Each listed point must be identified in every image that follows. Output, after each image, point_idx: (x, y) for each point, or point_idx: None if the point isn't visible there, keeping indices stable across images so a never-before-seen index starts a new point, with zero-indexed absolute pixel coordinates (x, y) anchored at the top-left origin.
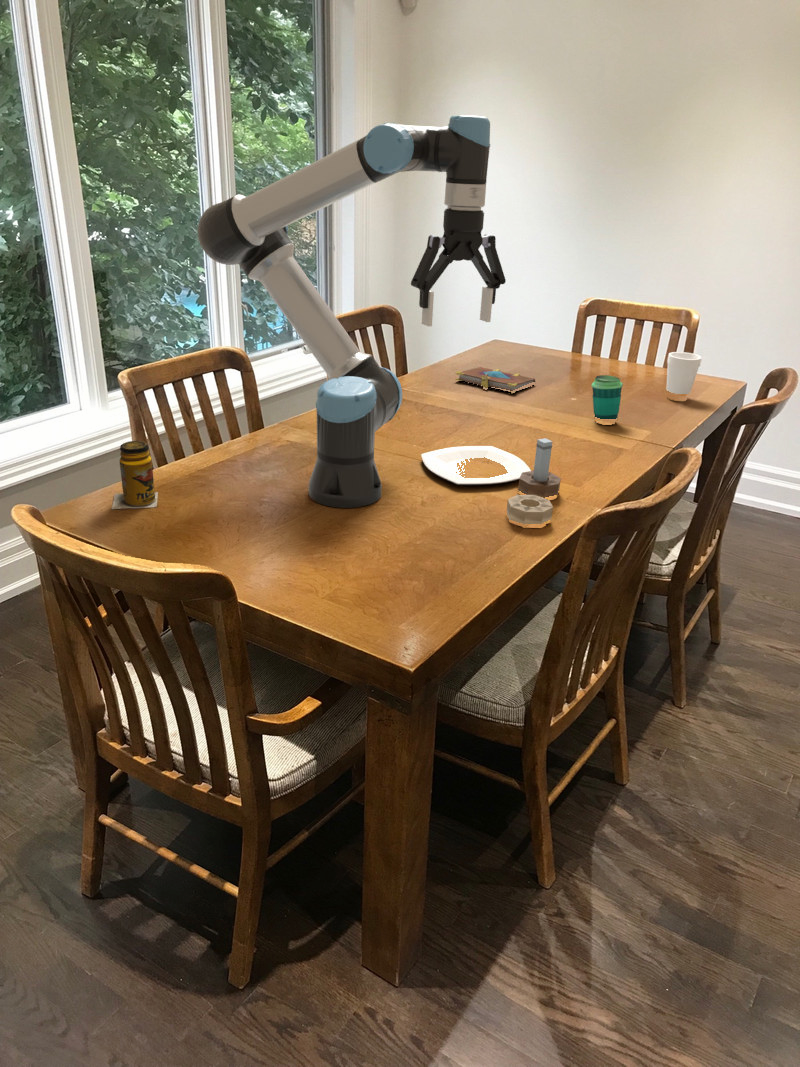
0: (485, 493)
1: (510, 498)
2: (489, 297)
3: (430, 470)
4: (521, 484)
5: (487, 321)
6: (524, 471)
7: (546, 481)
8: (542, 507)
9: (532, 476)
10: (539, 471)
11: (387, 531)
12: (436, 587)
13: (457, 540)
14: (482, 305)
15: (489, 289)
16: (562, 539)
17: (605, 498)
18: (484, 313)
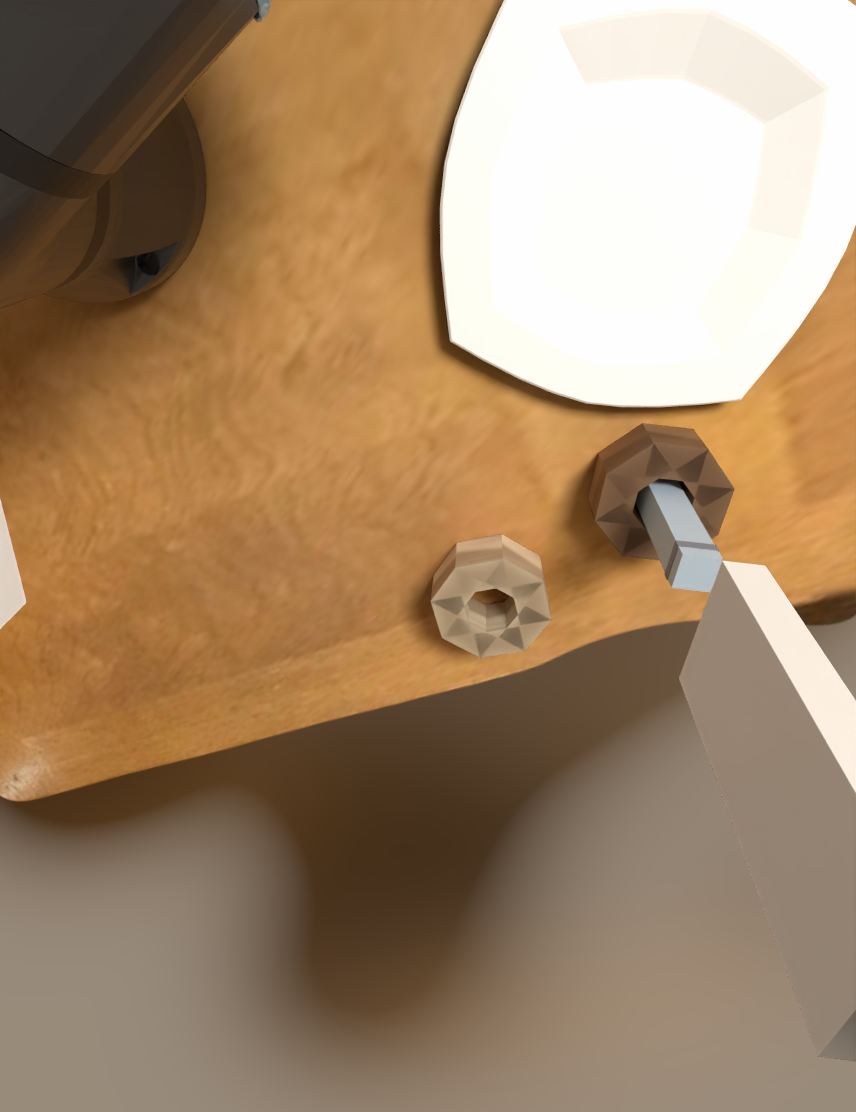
0: (514, 401)
1: (465, 567)
2: (771, 915)
3: (444, 171)
4: (600, 480)
5: (683, 684)
6: (732, 371)
7: None
8: (498, 641)
9: (661, 476)
10: (648, 529)
11: (122, 465)
12: (128, 690)
13: (263, 580)
14: (772, 697)
15: (816, 1035)
16: (482, 681)
17: None
18: (723, 680)
